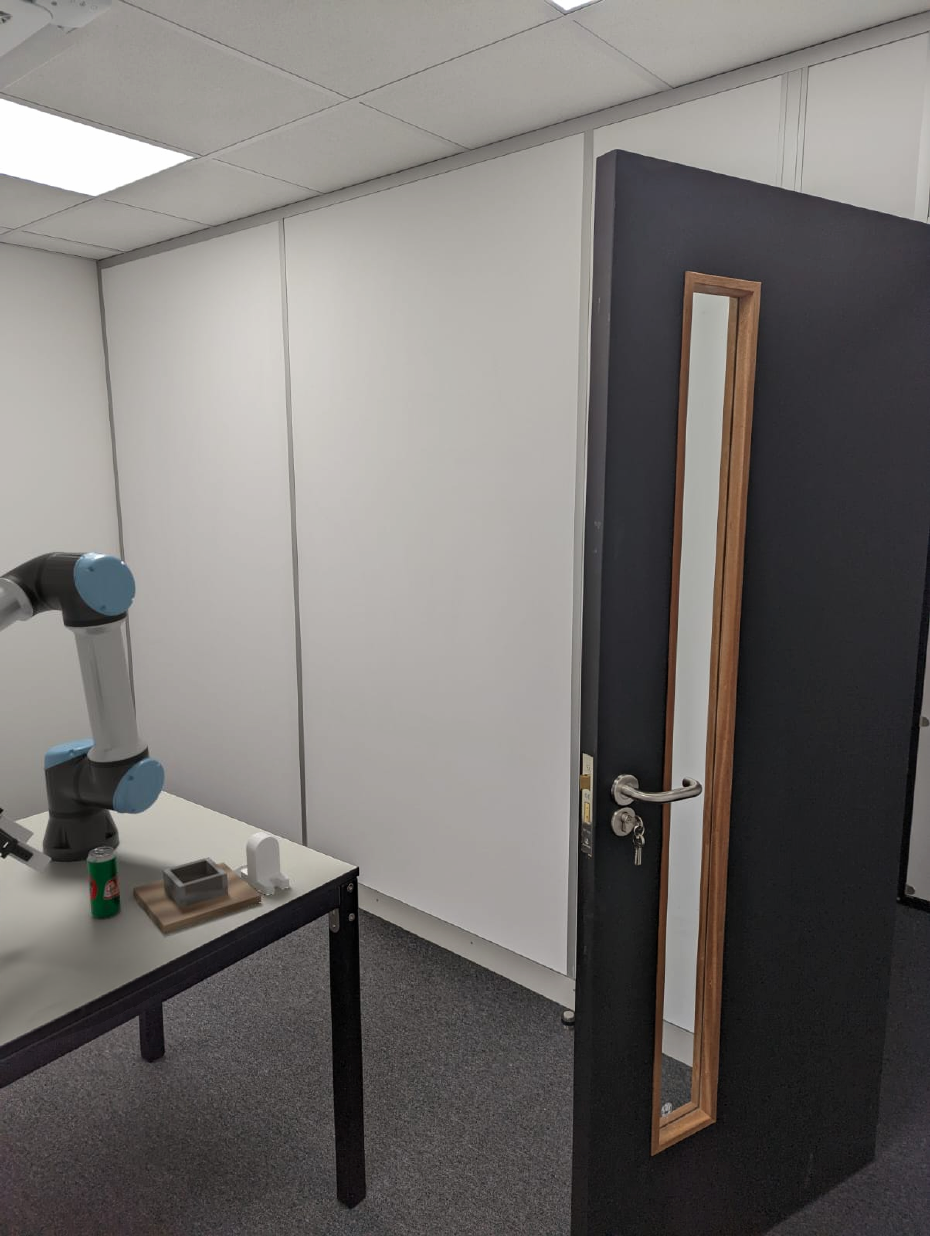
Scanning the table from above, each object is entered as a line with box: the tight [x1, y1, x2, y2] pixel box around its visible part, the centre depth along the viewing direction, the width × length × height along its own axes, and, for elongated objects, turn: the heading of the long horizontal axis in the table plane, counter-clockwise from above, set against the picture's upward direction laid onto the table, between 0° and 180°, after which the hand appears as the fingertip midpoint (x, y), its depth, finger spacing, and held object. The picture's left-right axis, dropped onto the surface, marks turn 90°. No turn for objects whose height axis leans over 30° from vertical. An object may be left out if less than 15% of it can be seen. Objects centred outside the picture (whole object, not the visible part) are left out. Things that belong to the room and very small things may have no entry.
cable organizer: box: [240, 831, 290, 895], centre depth 169 cm, size 5×10×10 cm, turn 44°
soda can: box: [86, 847, 122, 920], centre depth 157 cm, size 5×5×12 cm
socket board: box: [132, 857, 262, 934], centre depth 163 cm, size 18×18×6 cm
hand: (36, 852), depth 150 cm, fingers open, 13 cm apart
